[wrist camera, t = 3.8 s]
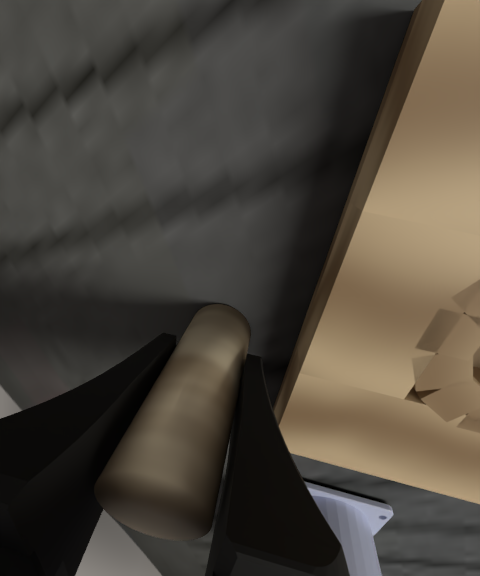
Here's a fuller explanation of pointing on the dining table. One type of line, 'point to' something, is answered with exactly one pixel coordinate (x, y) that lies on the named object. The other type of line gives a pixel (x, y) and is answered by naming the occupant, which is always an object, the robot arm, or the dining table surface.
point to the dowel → (180, 433)
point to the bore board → (403, 281)
